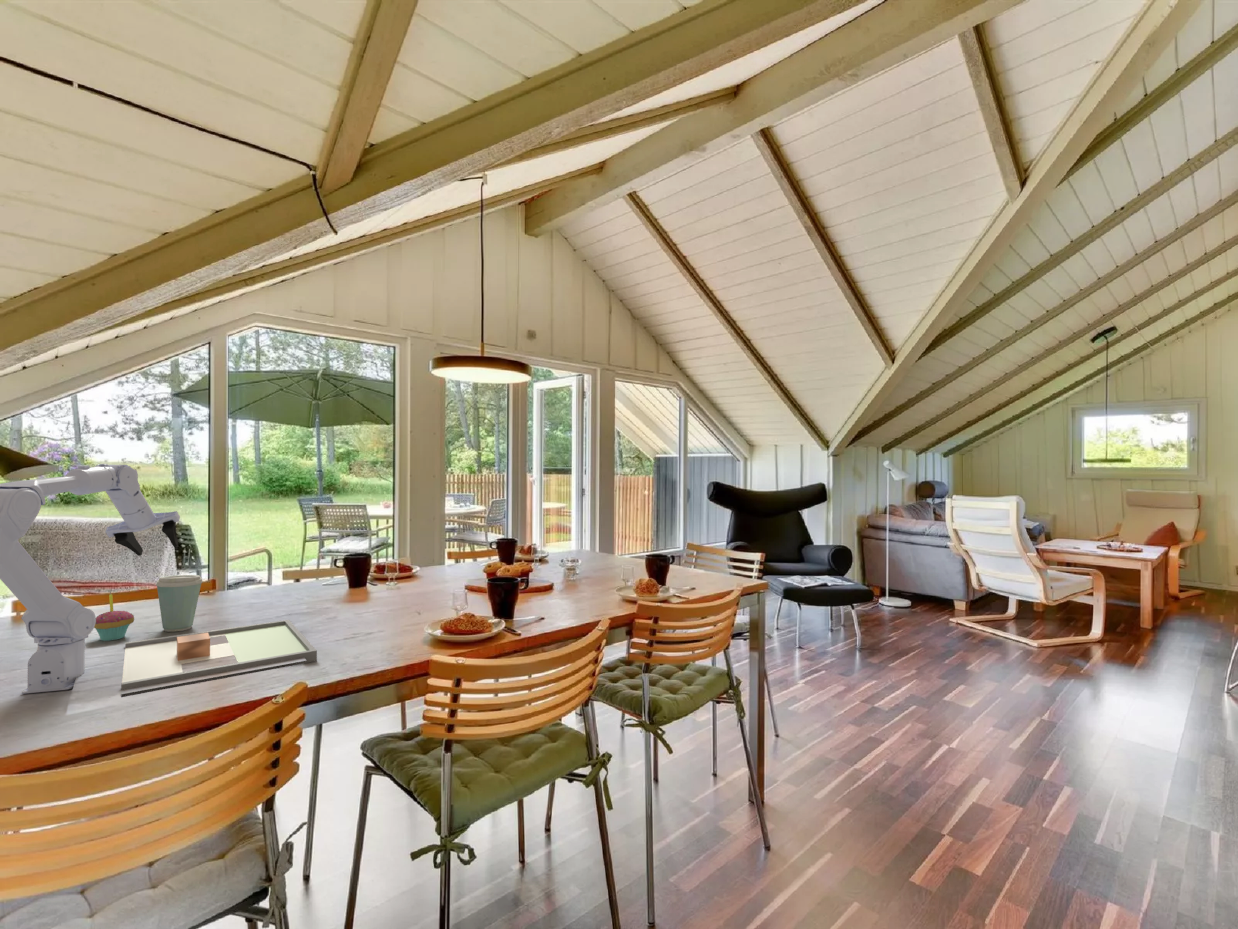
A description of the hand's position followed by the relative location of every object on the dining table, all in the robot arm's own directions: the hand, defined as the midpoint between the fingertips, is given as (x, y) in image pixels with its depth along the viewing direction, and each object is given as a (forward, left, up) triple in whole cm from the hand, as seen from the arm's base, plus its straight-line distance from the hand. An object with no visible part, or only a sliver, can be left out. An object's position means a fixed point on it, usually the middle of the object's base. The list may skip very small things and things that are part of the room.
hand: (158, 548), depth 149 cm
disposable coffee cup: (+16, 0, -25) cm, 29 cm away
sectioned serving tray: (-15, -17, -24) cm, 33 cm away
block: (-17, -13, -23) cm, 31 cm away
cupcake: (+11, +13, -25) cm, 30 cm away
